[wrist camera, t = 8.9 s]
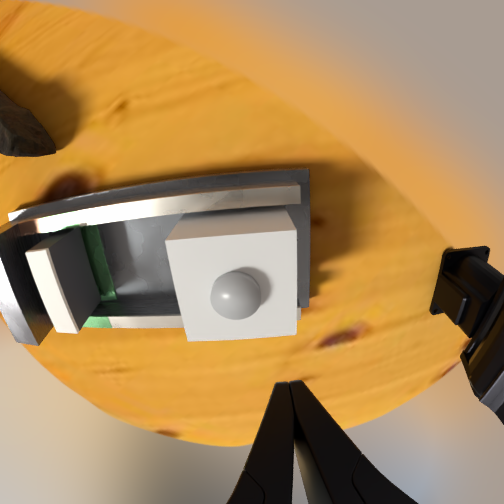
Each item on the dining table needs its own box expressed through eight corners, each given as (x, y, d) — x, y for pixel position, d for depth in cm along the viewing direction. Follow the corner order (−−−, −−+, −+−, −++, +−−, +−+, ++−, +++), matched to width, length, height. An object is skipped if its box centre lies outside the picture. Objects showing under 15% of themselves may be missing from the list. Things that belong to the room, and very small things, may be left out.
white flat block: (79, 225, 17) (45, 250, 13) (101, 299, 20) (77, 333, 16) (59, 229, 17) (25, 252, 13) (81, 299, 20) (56, 332, 16)
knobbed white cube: (283, 204, 17) (299, 234, 12) (285, 290, 20) (298, 341, 15) (184, 212, 17) (161, 245, 12) (199, 296, 20) (186, 348, 15)
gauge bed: (305, 167, 18) (333, 183, 12) (306, 300, 22) (323, 352, 16) (15, 210, 18) (-31, 234, 12) (47, 309, 22) (16, 347, 16)
